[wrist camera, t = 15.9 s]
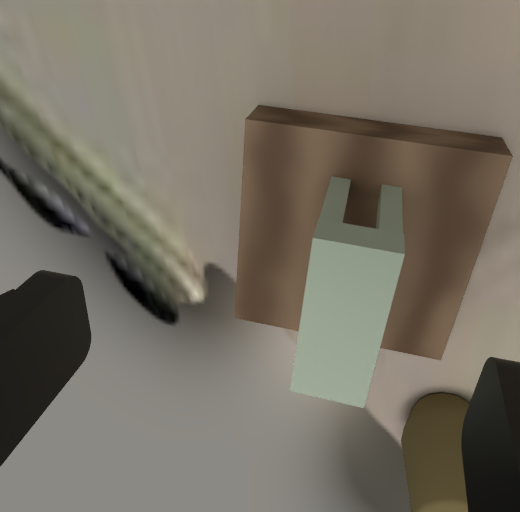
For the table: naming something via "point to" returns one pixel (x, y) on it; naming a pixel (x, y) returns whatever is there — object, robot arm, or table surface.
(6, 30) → the table surface
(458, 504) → the squeeze bottle
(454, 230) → the platform
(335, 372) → the stool
